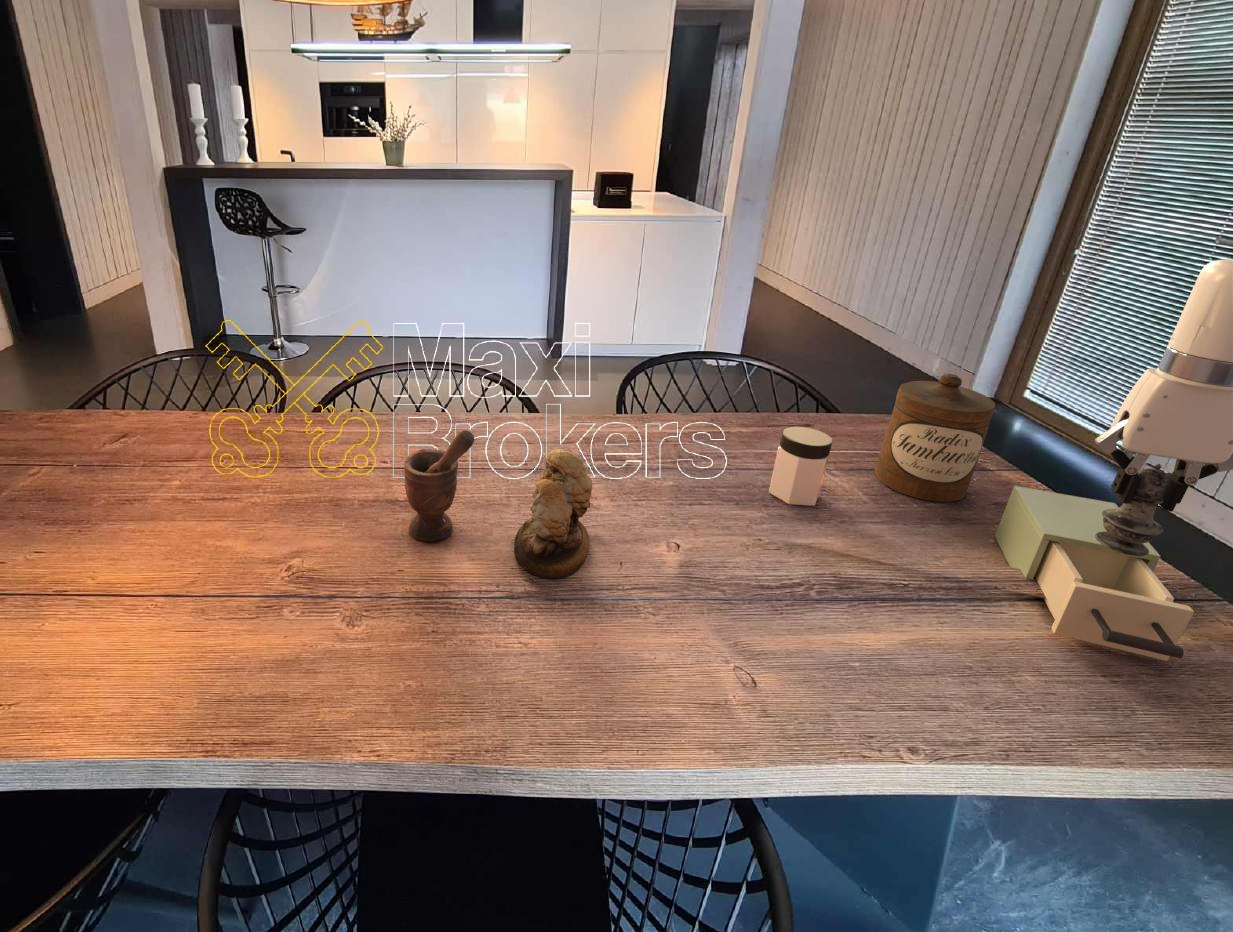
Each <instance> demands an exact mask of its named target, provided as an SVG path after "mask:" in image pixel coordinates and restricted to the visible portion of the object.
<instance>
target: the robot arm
mask: <svg viewBox="0 0 1233 932" xmlns="http://www.w3.org/2000/svg"><path fill="white" fill-rule="evenodd" d="M1120 441H1121V445H1122V447H1123V448H1124V450H1122V449H1121V448H1120V447H1119V446H1117V445H1116V444H1117V443H1118V442H1120ZM1093 443H1094V444H1095V445H1096V447H1098V449H1100V450H1101V451H1103V452H1104V453H1106V454H1107V455H1109V456H1110V457H1111V458H1112V459H1113V460H1114V461H1115V462H1116V464H1117V465H1118V466H1119V468H1118V470H1117V472H1116V474H1115V476H1114V479H1113V481H1112V483H1111V487H1110V489H1111V492H1112V494H1113V495H1114V497H1115V498H1116V499H1117V500H1118V501H1119V502H1120V503H1121V504H1123V503H1125V504H1128V503H1130V502H1131V499H1132V497H1133V495H1134V493H1135V491H1136V489H1137V487H1138V485H1139V482H1140V480H1141V477H1140V476H1139V475H1138V473H1139V471H1140V470H1142V468H1143V466H1144V465H1145V463H1146V462H1147V460H1148V459H1149V458H1150V456H1155V457H1162V458H1168V459H1174V460H1175V463H1174V464H1175V465H1174V468H1173V470H1172V472H1167V473H1165V474H1166V475H1167V476H1168V478H1169V481H1168V484H1167V486H1166V488H1165V490H1164V492H1163V494H1162V496H1161V498H1162V499H1163V503H1161V504H1158V506H1160V507H1161V508H1162V509H1163V510H1164V511H1166V512H1171V513H1172V512H1174V510H1175V508H1176V506H1177V505H1178V504H1181V503H1182V500H1183V498H1184V497H1185V494H1186V493H1187V491H1188V488H1189V487H1190V486H1193V485H1197V483H1198V482H1199V480H1202V479H1204V478H1207V477H1209V476H1210V477H1211V476H1212V475H1215V474H1216V473H1217V472H1219V473H1222V472H1227V471H1232V470H1233V259H1232V258H1230V259H1228V258H1227V259H1225V258H1224V259H1217V260H1214V261H1210V262H1209V263H1207V264H1206V265H1205V266H1204V267H1203V268H1201V271H1200V272H1199V274H1198V276H1197V278H1196V281H1195V283H1194V284H1193V286H1192V290H1191V292H1190V295H1189V296H1188V298H1187V301H1186V303H1185V306H1184V308H1183V310H1182V312H1181V314H1180V316H1179V319H1178V321H1177V323H1176V325H1175V328H1174V329H1173V332H1172V334H1171V336H1170V339H1169V341H1168V344H1167V346H1166V347H1165V350H1164V352H1163V354H1162V357H1161V359H1160V361H1159V363H1158V365H1157V368H1153V367H1152V368H1151V367H1149V368H1147V369H1146V370H1145V371H1144V372H1143V374H1142V375H1141V376H1140V377H1139V378H1138V380H1137V381H1136V382H1135V384H1134V385H1133V387H1132V388H1131V389H1130V391H1129V392H1128V394H1127V395H1126V397H1125V399H1124V401H1123V403H1122V404H1121V406H1120V408H1119V410H1118V412H1117V413H1116V415H1115V417H1114V419H1113V421H1112V423H1111V427H1110V428H1109V429H1107V430H1105V432H1103V433H1101V434H1100V435H1099V436H1097V437H1096V438H1095V439H1094V440H1093Z"/></svg>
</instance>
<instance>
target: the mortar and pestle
mask: <svg viewBox="0 0 1233 932" xmlns="http://www.w3.org/2000/svg"><path fill="white" fill-rule="evenodd" d="M474 443H475V436H474V434H473V432H472V431H470V430H468V429H467V430H466V429H465V430H461V431H459V432H458V433H457V434H456V435H455V436H454V438H453V439H452V441H451V443H450V444H449V446H448V448H447V449H446V450H443V449H437V448H436V449H435V448H434V449H431V448H426V449H425V448H423V449H419V450H416V451H414V452H411V453H410V454H408V455H407V456H406V457H405V460H404V463H403V465H404V466H403V470H404V472H403V473H404V489H405V495H406V498H407V500H408V501H407V502H408V504H409V506H410V507H411V509H412V510H413V511H415V512H416V514H414V515H413V517H411V520H410V522H409V525H408V532H409V535H410V536H411V537H412V538H414V539H416V540H419V541H423V542H429V543H430V542H436V541H437V542H438V541H441V540H444V539H446V538H448V537H450V536H451V535H452V533H453V532H454V528H453V521H452V519H451V518H450V516H449V515H448V514H447V513H446V512H447V511H448V510H449V509H451V506H452V505H453V502H454V499H455V495H456V492H457V487H458V486H457V485H458V469H459V461H458V460H459V459H460V458H461V457H462V456H463V455H465V453H467V452H468V451H469V450H470V449H471V448H472V446H474Z"/></svg>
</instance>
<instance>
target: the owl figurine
mask: <svg viewBox="0 0 1233 932" xmlns="http://www.w3.org/2000/svg"><path fill="white" fill-rule="evenodd" d="M544 466H545V467H544V469H543V470H542V473H541V474H540V477H539V480H538V481H537V482H536V484H535V486H534V489H533V491H532V499H533V502H531V503H530V505H529V509H530V511H531V518H529V519H527V520H526V521H525V522H524V523H523V524H522V525H521V526H520V528H519V529H518V531H517V532H516V534H515V536H514V537H515V538H514V542H513V552H514V556H515V559H516V561H517V563H518V564H519V566H521V568H523V569H524V570H525V572H527V573H529V574H530V575H532V576H535V577H539V578H541V579H547V580H557V579H564V578H567V577H569V576H571V575H573V574H575V572H577V571H578V570H579V569H580V568H581V567H582V566H583V565H584V563H585V562H586V559H587V557H588V554H589V548H590V537H589V533H588V530H587V529H586V527H585V525H584V524H583V523H582V522H581V521H580V518H583V517H584V515H585V514H586V513H587V511H588V509H589V508H591V497H592V491H593V480H592V478H591V477H590V476H589V475H588V473H587V468H586V466H585V465H584V463H583V461H582V460H581V459H580V458H579V457H578V456H577V455H576V454H574V453H573V452H570V451H568V450H566V449H564V448H556V449H552V450H551V451H549V452H548V455H547V456H546V458H545V465H544Z"/></svg>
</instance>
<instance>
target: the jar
mask: <svg viewBox="0 0 1233 932" xmlns="http://www.w3.org/2000/svg"><path fill="white" fill-rule="evenodd" d="M832 447H833V439H832V438H831V436H829V435H828V434H827V433H825V432H823V431H821V430H818V429H815V428H811V427H807V426H805V427H804V426H789V427H786V428H784V429H783V430H782V432H781V435H780V441H779V446H778V448H777V451H776V455H775V456H776V457H775V461H774V465H773V470H772V475H771V479H770V485H769V489H768V493H769V494H770V495H772V496H774V497H775V498H777V499H779V500H780V501H782V502H784V503H785V504H787V505H791V506H792V505H793V506H811V507H814V506H816V503H817V501H818V499H819V497H820V494H821V489H822V486H823V482H824V478H825V474H826V470H827V465H828V462H829V457H830V455H831V449H832Z"/></svg>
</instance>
